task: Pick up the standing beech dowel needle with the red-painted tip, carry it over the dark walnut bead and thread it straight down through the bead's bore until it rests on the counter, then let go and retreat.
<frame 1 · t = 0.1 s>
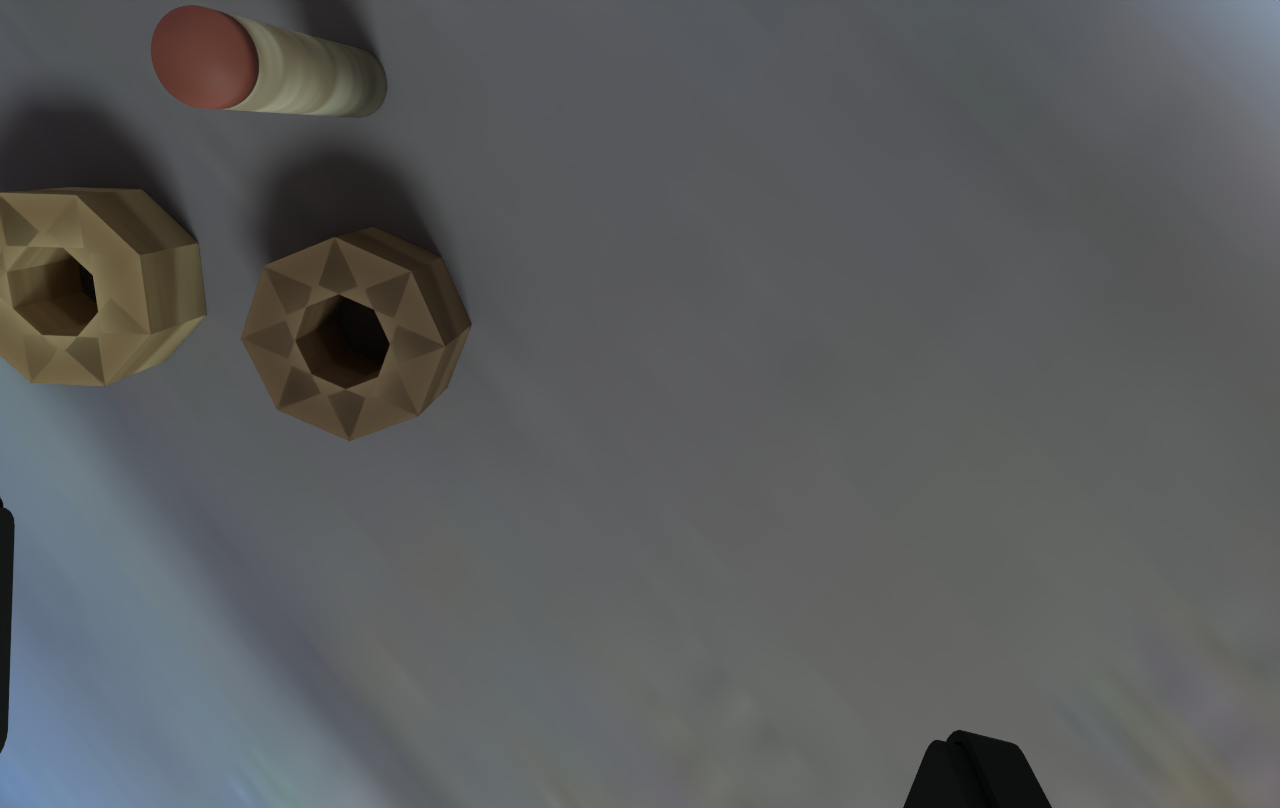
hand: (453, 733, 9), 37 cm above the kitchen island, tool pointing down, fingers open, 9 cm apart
oak bead: (119, 276, 47), on the kitchen island
dowel needle: (354, 82, 43), on the kitchen island
walnut bead: (379, 321, 46), on the kitchen island
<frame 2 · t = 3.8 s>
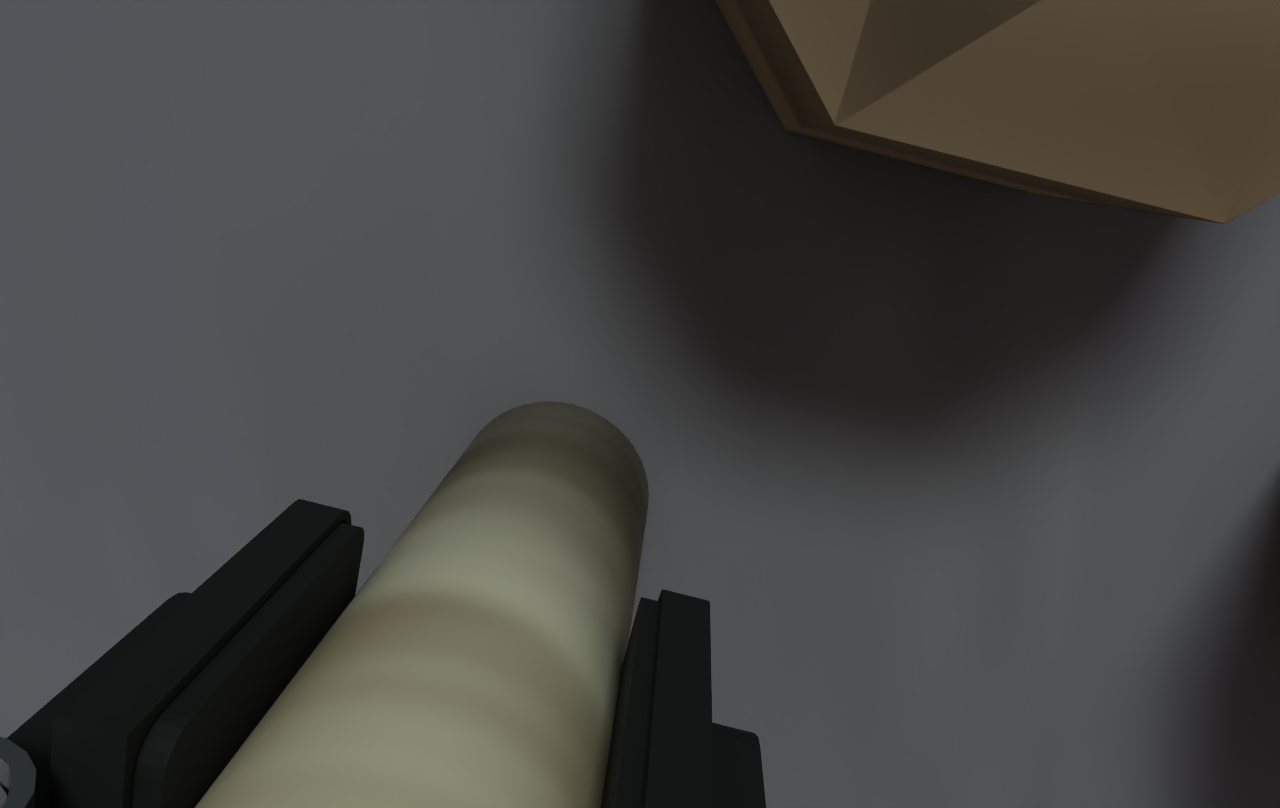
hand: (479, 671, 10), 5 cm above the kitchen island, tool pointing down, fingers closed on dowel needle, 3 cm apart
dowel needle: (553, 493, 15), on the kitchen island, touching gripper
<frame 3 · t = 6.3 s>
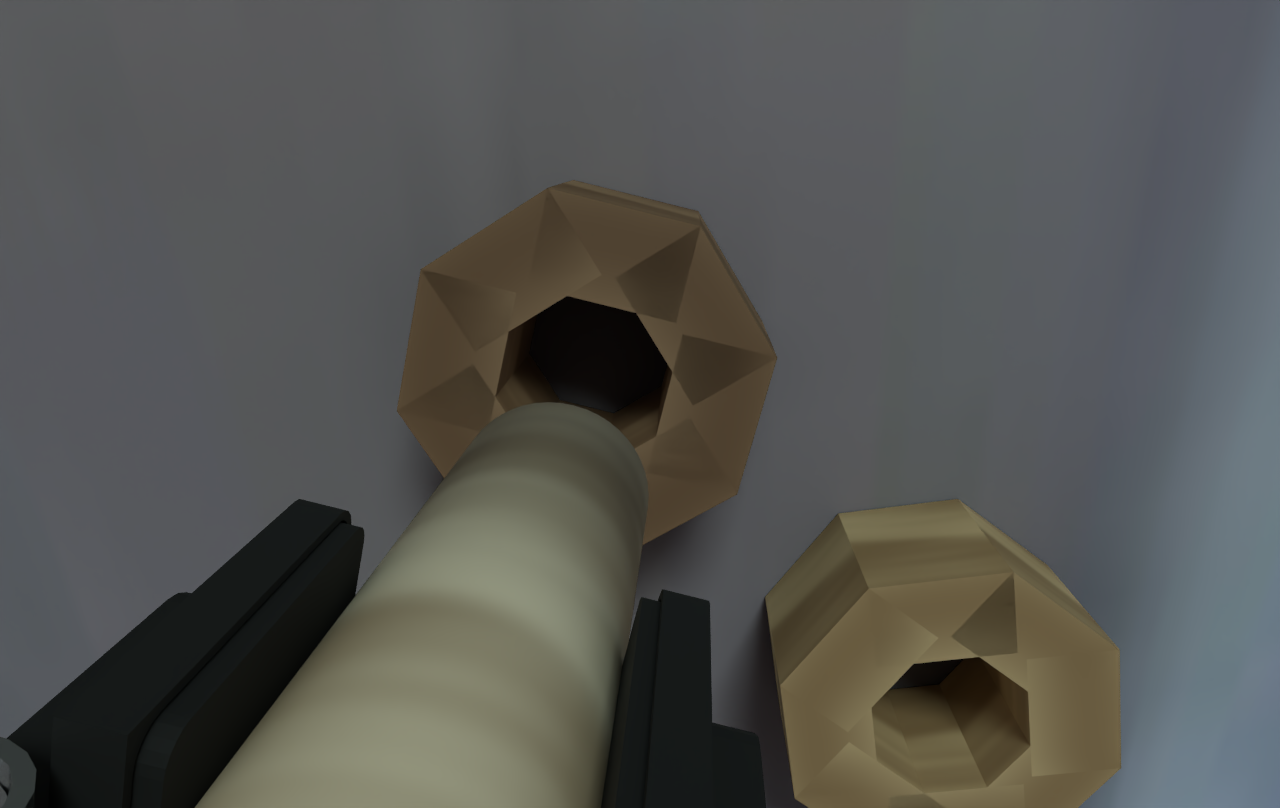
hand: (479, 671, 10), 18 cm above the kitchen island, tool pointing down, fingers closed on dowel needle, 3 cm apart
oak bead: (908, 631, 29), on the kitchen island
dowel needle: (553, 493, 15), point 13 cm above the kitchen island, touching gripper
walnut bead: (601, 342, 27), on the kitchen island
when the fingers open (7 cm above the kitchen island, at t = 8.6 s): dowel needle drops 1 cm, resting in walnut bead.
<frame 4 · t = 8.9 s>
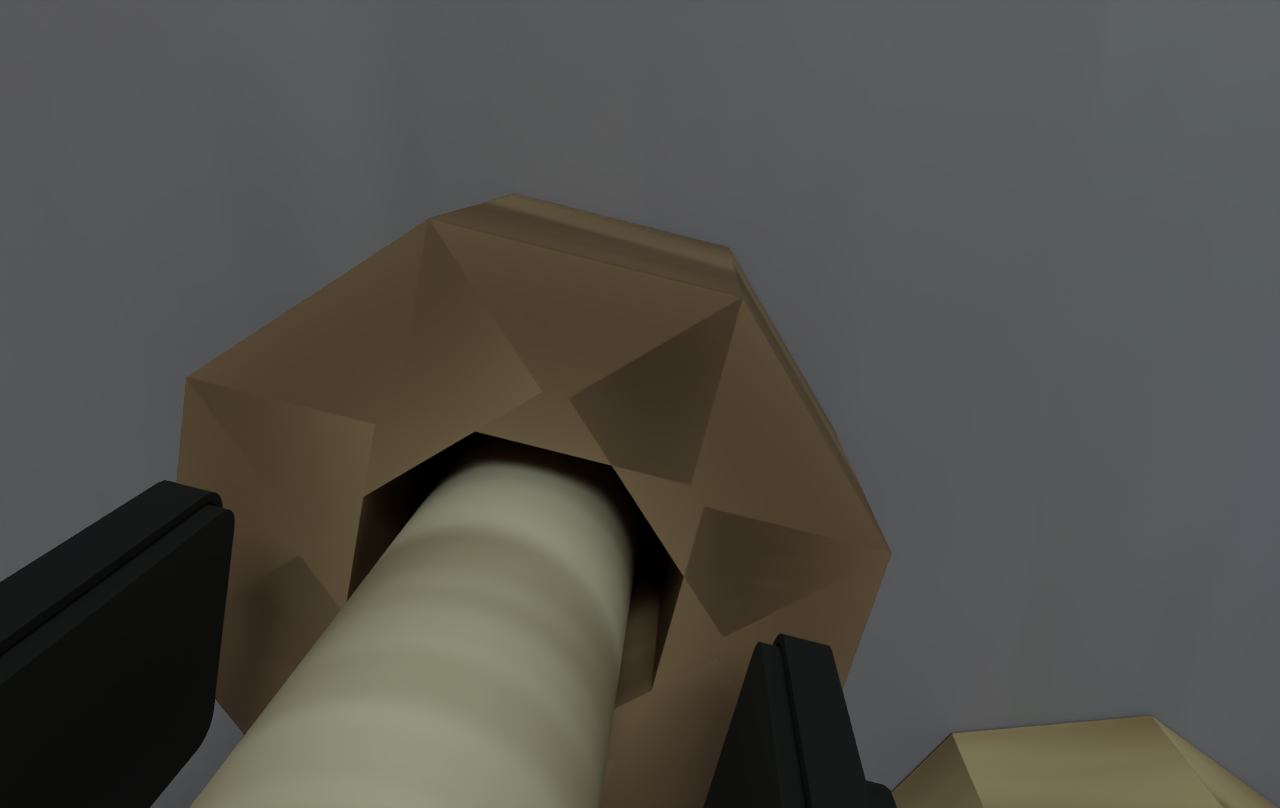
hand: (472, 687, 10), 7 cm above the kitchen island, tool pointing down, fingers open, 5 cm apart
dowel needle: (563, 463, 16), resting in walnut bead
walnut bead: (566, 462, 16), on the kitchen island
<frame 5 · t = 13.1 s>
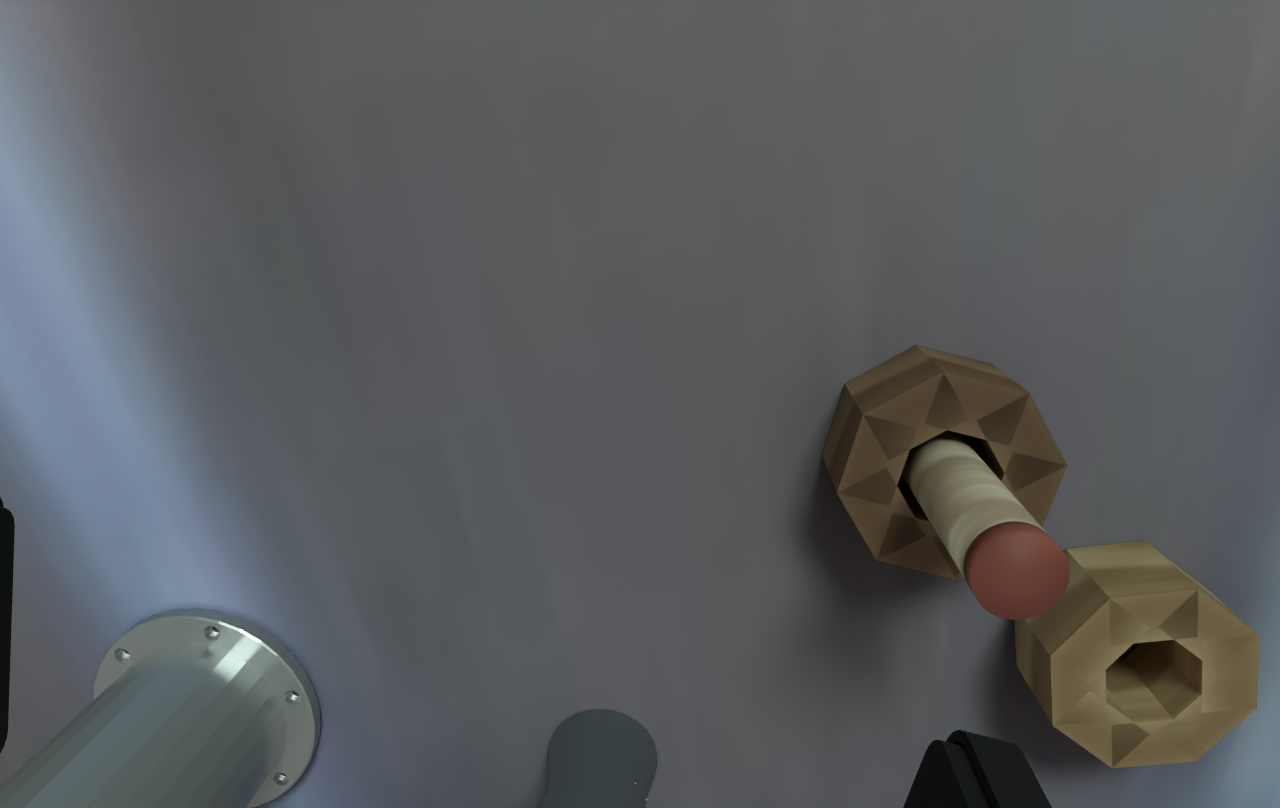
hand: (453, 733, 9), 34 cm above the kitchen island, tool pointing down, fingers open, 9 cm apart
oak bead: (1105, 624, 45), on the kitchen island
dowel needle: (921, 442, 43), resting in walnut bead
walnut bead: (922, 442, 43), on the kitchen island
beer glass: (603, 752, 50), on the kitchen island
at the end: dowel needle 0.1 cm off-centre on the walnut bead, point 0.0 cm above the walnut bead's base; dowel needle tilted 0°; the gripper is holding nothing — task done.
